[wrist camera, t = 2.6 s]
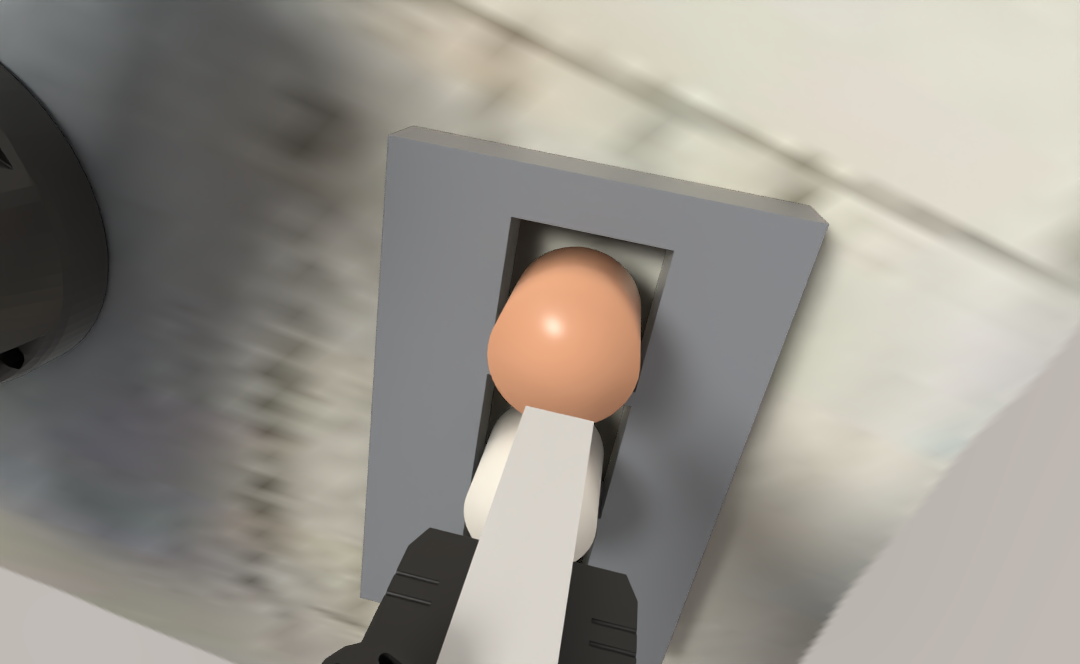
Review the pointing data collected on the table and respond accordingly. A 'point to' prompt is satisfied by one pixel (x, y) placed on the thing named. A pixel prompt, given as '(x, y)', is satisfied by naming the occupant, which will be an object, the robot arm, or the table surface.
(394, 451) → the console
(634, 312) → the brown egg
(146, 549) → the table surface
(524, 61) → the table surface
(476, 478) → the cream button
